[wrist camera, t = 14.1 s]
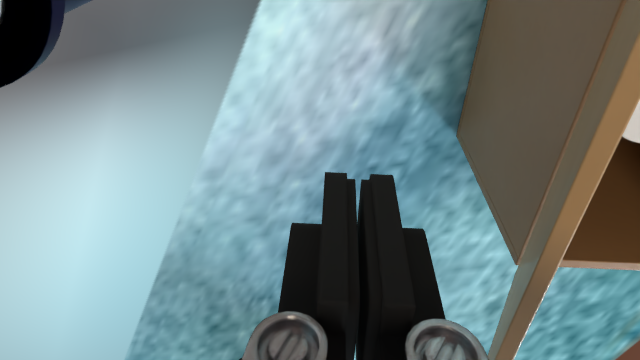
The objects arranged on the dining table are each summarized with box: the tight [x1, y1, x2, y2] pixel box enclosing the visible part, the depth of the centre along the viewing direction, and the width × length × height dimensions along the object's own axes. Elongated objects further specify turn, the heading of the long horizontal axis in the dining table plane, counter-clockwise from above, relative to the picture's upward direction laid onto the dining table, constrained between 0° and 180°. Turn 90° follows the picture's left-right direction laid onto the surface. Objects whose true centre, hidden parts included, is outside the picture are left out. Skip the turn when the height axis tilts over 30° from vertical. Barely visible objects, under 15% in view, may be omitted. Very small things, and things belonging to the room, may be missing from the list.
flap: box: [488, 0, 640, 360], centre depth 12 cm, size 8×15×1 cm
